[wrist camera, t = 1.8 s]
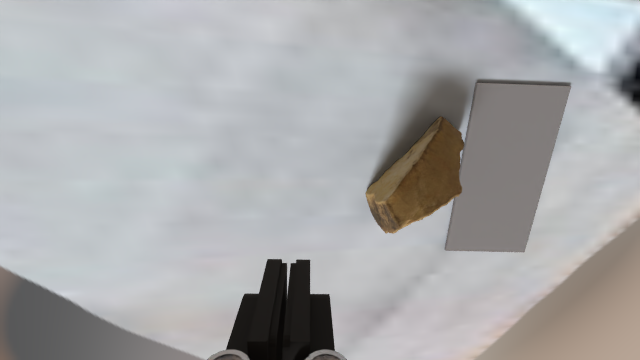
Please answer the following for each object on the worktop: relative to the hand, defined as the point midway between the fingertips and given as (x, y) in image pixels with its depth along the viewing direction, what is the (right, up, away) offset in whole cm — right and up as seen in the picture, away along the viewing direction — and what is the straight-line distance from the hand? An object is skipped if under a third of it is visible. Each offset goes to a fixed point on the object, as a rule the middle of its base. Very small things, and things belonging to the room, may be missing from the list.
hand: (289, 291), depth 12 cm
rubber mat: (+18, +5, +16) cm, 25 cm away
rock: (+10, +5, +16) cm, 19 cm away
